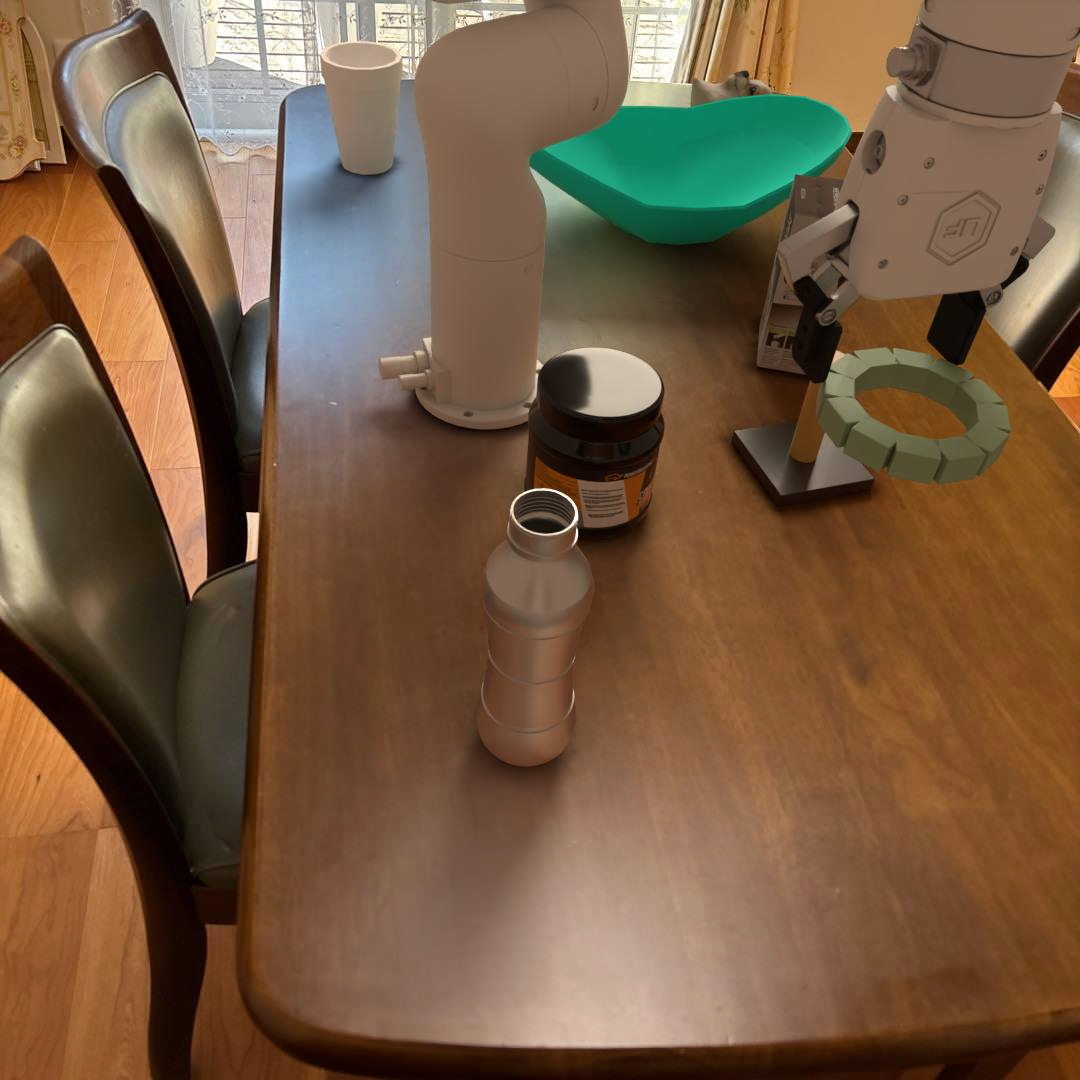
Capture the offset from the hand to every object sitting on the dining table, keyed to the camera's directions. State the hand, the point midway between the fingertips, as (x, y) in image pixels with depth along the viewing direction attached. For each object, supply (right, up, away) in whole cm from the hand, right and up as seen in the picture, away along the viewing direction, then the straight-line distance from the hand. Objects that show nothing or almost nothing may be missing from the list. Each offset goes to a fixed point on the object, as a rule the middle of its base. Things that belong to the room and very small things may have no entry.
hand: (876, 361), depth 62 cm
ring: (+1, -4, -2) cm, 5 cm away
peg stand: (+2, -4, +27) cm, 28 cm away
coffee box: (+5, +8, +41) cm, 42 cm away
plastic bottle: (-22, -24, +5) cm, 33 cm away
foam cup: (-42, +36, +66) cm, 86 cm away
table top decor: (-7, +26, +59) cm, 64 cm away
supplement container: (-17, -8, +22) cm, 29 cm away
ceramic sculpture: (+7, +46, +81) cm, 93 cm away
